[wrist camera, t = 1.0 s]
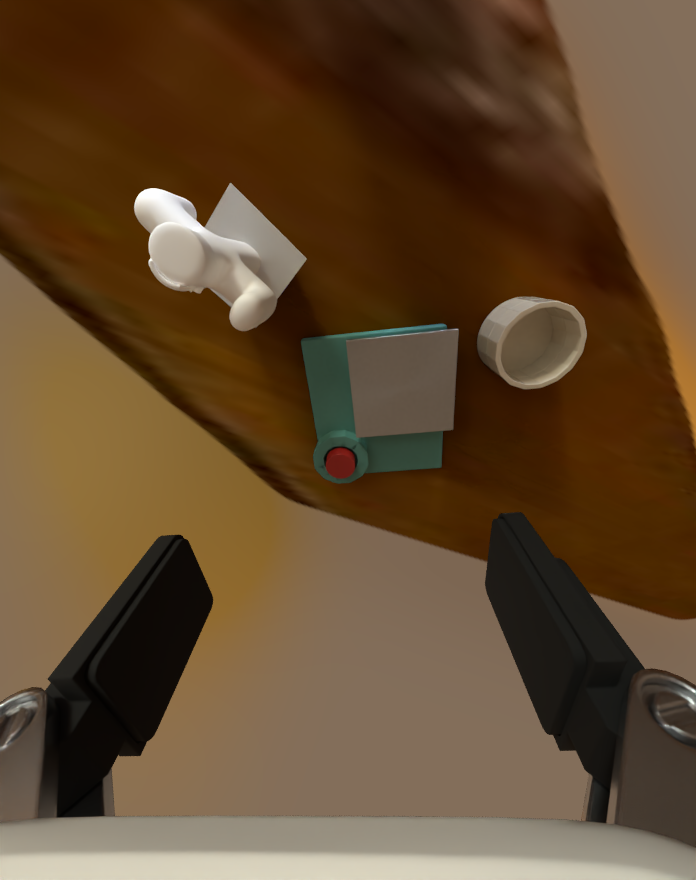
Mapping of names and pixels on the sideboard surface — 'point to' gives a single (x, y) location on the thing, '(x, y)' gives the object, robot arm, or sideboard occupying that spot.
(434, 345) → the weighing plate
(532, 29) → the sideboard surface
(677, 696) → the robot arm
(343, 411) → the scale
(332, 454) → the tare button
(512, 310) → the cup
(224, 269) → the figurine
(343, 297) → the sideboard surface
